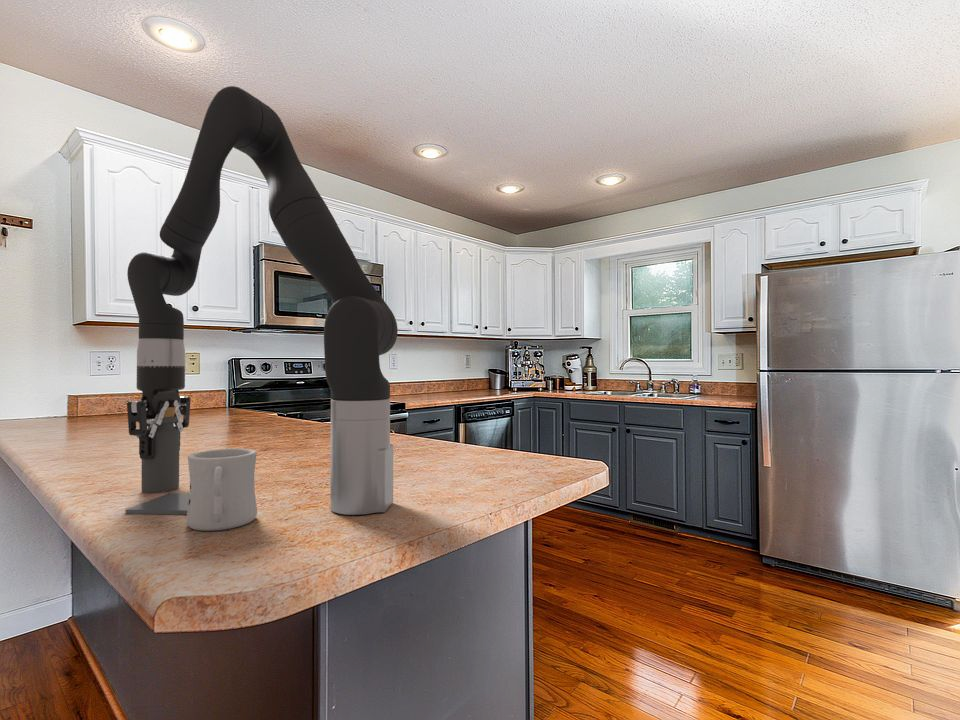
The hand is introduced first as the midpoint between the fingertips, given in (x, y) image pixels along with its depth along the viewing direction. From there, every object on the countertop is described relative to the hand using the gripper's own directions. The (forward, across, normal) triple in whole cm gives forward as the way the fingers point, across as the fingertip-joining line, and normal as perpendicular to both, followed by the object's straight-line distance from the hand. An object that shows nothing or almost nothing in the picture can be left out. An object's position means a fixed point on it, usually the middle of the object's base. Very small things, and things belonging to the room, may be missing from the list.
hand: (160, 455), depth 93 cm
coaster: (+6, -10, -10) cm, 15 cm away
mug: (+6, -20, -23) cm, 31 cm away
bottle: (+6, 0, 0) cm, 6 cm away
